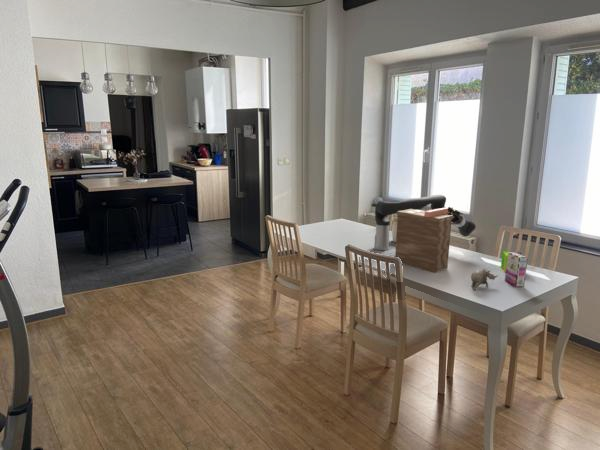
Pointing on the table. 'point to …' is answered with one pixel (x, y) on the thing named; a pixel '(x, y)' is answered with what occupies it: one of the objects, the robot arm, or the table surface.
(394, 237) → the jug
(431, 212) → the baton
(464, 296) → the table surface
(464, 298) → the table surface
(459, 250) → the table surface
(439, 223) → the cabinet
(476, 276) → the rhino figurine
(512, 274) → the candy bar box
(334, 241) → the table surface
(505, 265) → the puzzle toy
